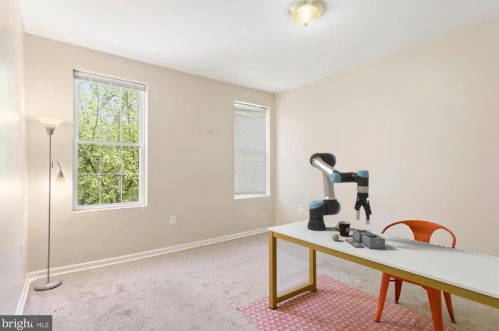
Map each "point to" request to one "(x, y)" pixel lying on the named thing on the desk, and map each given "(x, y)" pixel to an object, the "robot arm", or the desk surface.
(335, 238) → the olive ball
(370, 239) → the grey open box
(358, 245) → the card
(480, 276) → the desk surface
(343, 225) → the coffee mug
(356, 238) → the grey square bin
